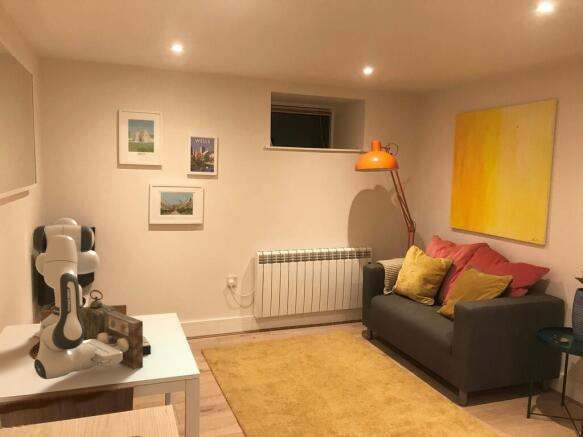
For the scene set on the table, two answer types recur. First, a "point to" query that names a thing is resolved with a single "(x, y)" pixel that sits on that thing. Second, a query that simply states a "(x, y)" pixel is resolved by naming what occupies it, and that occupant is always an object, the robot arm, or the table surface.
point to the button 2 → (123, 344)
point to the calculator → (146, 347)
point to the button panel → (131, 331)
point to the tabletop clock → (94, 317)
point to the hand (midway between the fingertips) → (120, 346)
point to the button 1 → (104, 337)
